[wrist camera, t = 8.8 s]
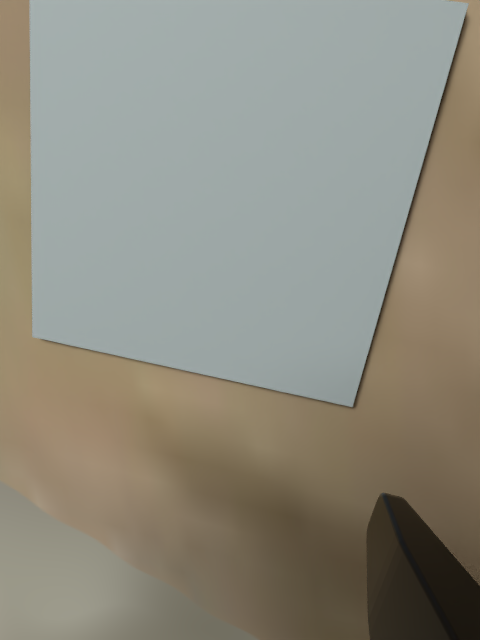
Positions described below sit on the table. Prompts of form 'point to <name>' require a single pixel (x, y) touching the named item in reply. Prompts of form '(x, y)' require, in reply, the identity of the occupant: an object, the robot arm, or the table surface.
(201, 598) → the table surface
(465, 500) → the table surface
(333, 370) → the mat
